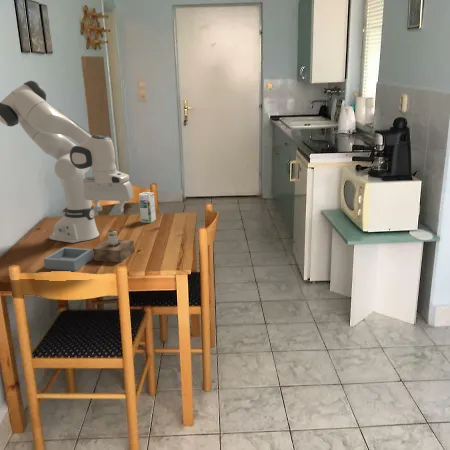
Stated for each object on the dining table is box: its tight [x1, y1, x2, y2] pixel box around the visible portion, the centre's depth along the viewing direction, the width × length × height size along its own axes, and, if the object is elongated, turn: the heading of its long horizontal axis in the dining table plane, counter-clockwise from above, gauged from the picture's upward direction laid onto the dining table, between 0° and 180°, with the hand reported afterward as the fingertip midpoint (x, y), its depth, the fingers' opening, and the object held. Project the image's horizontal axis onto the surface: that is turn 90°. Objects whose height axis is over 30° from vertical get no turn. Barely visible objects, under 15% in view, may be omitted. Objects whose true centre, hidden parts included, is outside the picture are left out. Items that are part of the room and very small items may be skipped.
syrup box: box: [138, 191, 157, 224], centre depth 245 cm, size 6×6×14 cm
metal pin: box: [107, 228, 119, 247], centre depth 200 cm, size 4×4×11 cm
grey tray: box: [43, 246, 94, 272], centre depth 195 cm, size 13×13×4 cm
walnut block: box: [92, 238, 135, 263], centre depth 201 cm, size 12×12×5 cm
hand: (110, 211), depth 196 cm, fingers open, 8 cm apart
